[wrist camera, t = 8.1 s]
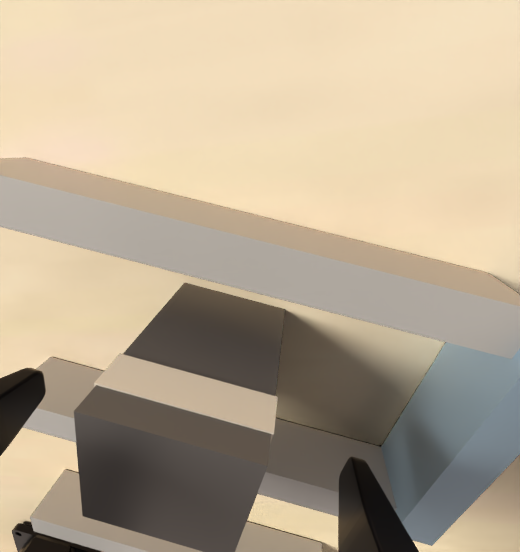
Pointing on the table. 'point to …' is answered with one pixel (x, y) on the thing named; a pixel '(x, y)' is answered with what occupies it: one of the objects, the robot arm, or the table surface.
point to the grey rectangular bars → (313, 293)
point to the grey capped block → (184, 422)
